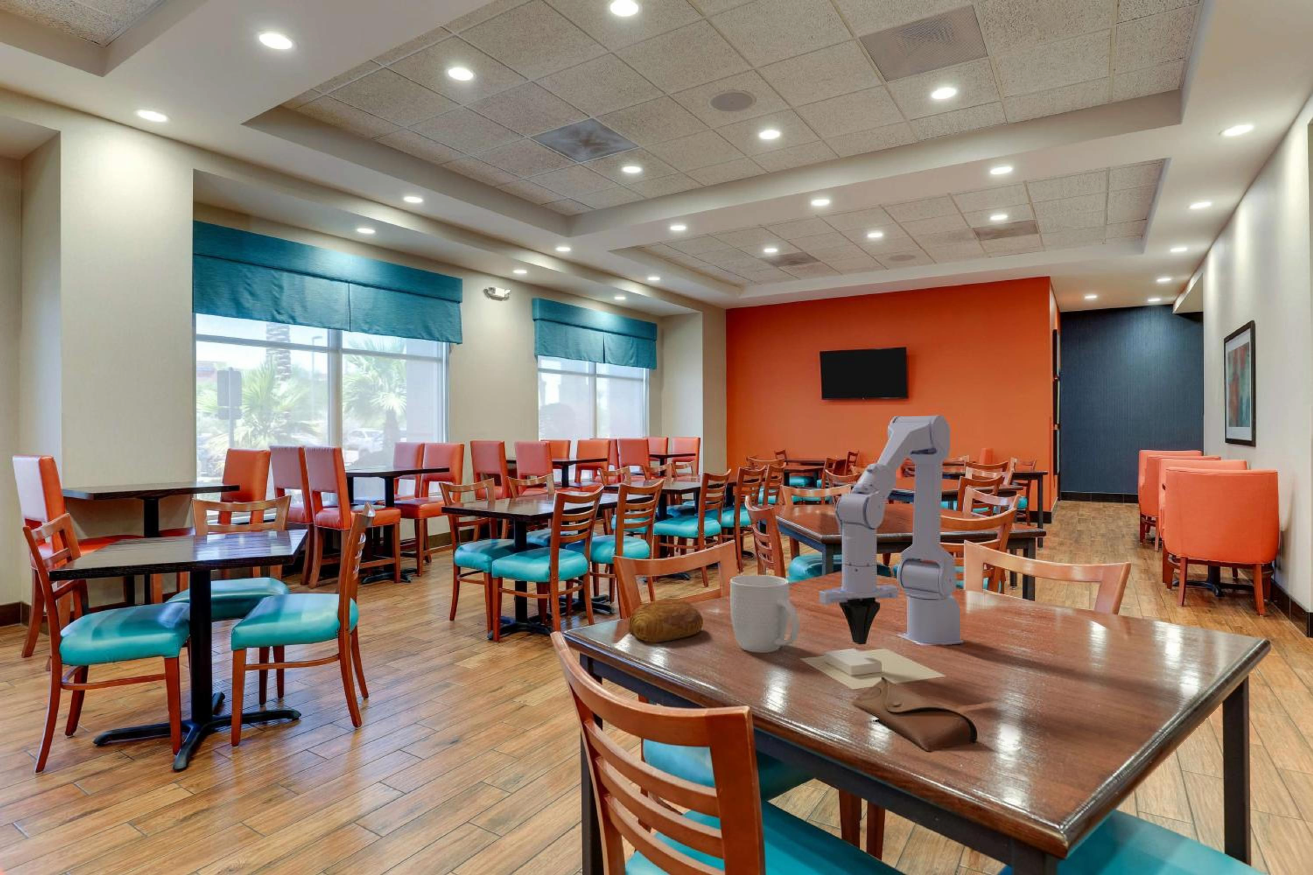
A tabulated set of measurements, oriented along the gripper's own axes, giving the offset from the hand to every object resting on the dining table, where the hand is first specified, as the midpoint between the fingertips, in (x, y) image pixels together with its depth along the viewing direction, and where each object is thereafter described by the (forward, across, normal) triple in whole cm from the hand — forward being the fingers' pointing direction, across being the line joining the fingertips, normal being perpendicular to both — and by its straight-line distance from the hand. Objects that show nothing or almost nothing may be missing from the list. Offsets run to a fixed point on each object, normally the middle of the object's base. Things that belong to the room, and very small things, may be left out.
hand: (859, 642), depth 122 cm
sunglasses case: (+5, +7, +21) cm, 23 cm away
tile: (+3, -2, 0) cm, 3 cm away
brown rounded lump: (+5, +24, -33) cm, 41 cm away
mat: (+5, -2, +1) cm, 5 cm away
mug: (+5, +10, -15) cm, 19 cm away
